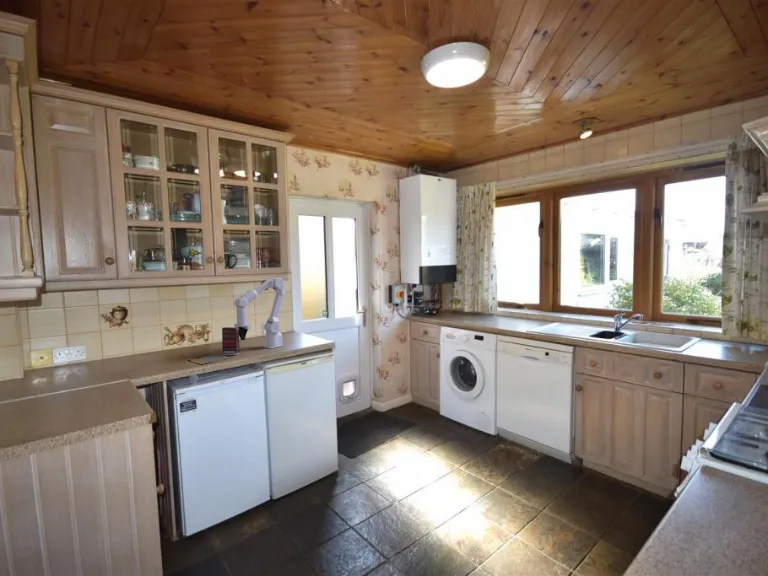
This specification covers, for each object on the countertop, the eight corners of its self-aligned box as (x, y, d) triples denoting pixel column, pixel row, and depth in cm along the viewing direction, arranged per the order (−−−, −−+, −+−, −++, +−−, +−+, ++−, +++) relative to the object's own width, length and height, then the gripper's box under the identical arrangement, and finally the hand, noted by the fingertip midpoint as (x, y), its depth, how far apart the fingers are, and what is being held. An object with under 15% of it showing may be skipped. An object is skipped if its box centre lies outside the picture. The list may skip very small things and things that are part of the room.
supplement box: (240, 353, 228) (239, 326, 228) (236, 355, 223) (235, 327, 223) (226, 353, 228) (225, 327, 229) (221, 355, 224) (221, 327, 224)
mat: (218, 354, 228) (218, 353, 228) (233, 357, 218) (233, 357, 218) (187, 360, 214) (187, 360, 214) (201, 365, 204) (201, 364, 204)
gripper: (229, 317, 232) (230, 339, 233) (242, 319, 223) (243, 342, 224) (239, 315, 237) (241, 337, 238) (253, 317, 228) (254, 340, 229)
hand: (242, 339), depth 231 cm, fingers closed
